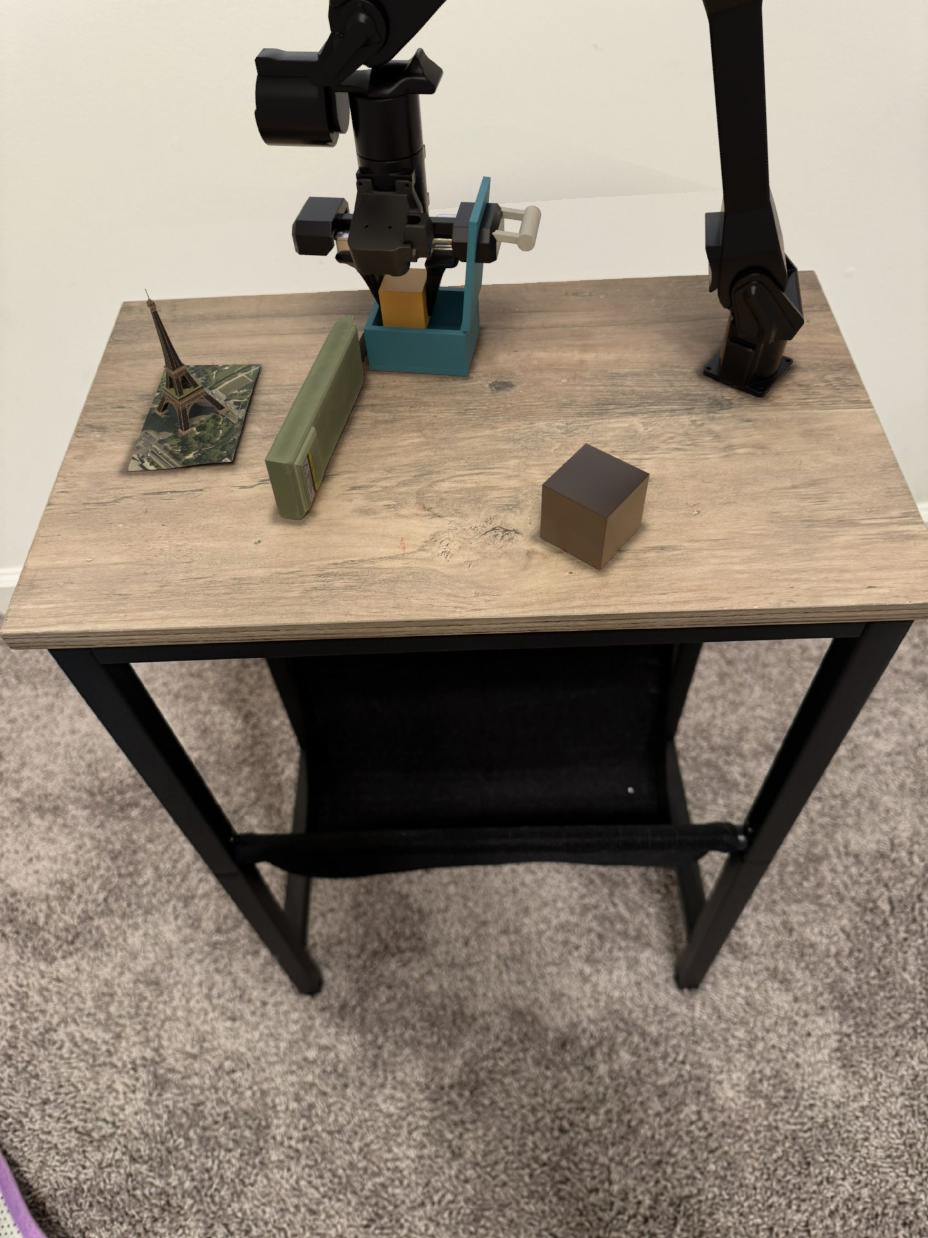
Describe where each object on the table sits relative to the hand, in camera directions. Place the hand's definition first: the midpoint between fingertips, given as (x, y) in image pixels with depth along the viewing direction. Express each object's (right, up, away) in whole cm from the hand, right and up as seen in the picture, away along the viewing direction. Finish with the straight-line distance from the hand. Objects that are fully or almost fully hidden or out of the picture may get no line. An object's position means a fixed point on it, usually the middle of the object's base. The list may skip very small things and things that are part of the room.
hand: (408, 312), depth 82 cm
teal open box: (+2, -3, +3) cm, 4 cm away
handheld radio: (-7, -12, -3) cm, 14 cm away
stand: (+16, -23, -13) cm, 31 cm away
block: (0, 0, 0) cm, 1 cm away
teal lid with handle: (+6, +3, -6) cm, 9 cm away
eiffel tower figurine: (-20, -11, -2) cm, 23 cm away
